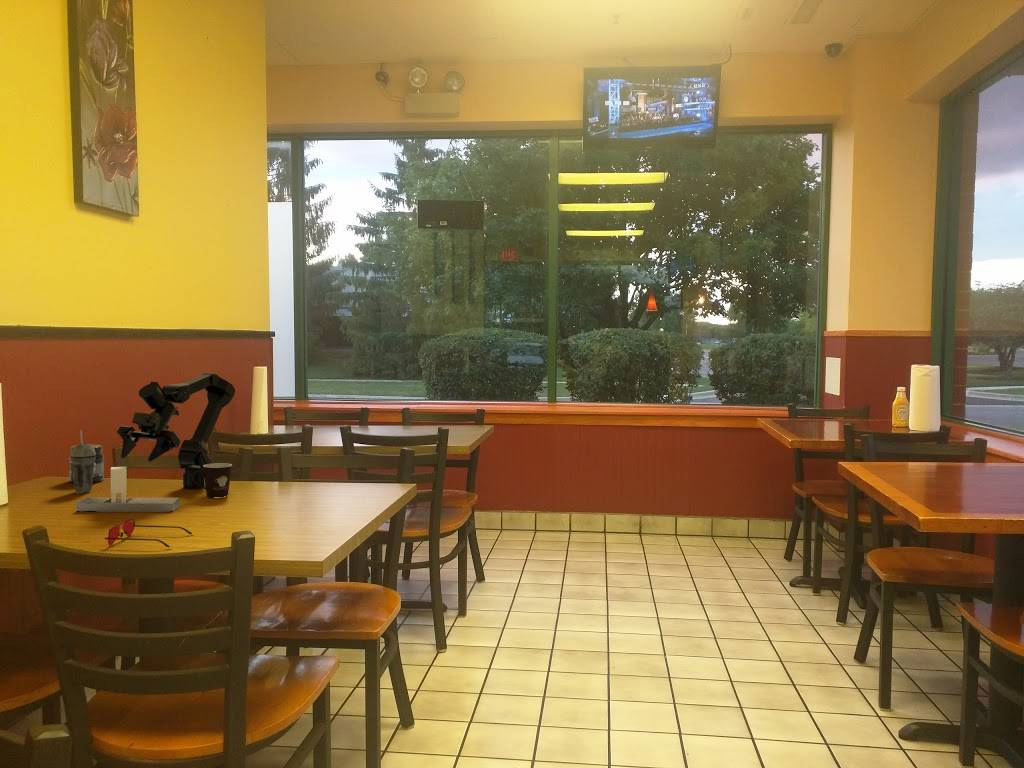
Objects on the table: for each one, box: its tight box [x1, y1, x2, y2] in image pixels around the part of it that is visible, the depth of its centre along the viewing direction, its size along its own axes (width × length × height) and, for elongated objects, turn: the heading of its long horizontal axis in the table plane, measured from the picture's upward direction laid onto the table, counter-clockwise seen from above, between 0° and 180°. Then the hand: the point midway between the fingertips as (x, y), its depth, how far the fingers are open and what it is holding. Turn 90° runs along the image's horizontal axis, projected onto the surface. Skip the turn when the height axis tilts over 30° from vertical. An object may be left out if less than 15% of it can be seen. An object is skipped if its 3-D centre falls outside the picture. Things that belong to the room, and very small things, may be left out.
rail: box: [75, 497, 181, 513], centre depth 231 cm, size 26×8×2 cm, turn 98°
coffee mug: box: [192, 462, 233, 499], centre depth 252 cm, size 12×9×10 cm
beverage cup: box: [69, 429, 96, 494], centre depth 253 cm, size 7×7×20 cm
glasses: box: [103, 518, 192, 548], centre depth 197 cm, size 14×16×5 cm
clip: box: [110, 466, 127, 503], centre depth 231 cm, size 4×4×12 cm
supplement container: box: [68, 444, 105, 484], centre depth 271 cm, size 10×10×12 cm
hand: (135, 459), depth 238 cm, fingers open, 9 cm apart
